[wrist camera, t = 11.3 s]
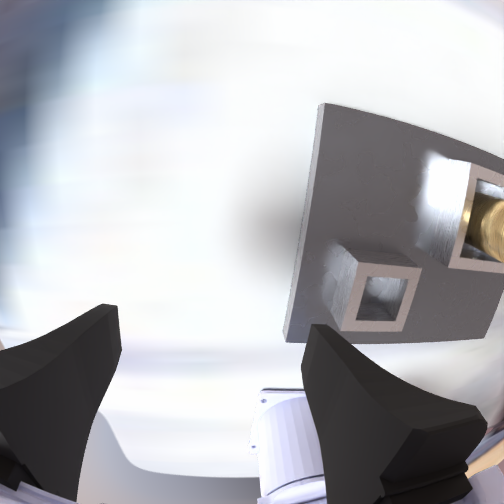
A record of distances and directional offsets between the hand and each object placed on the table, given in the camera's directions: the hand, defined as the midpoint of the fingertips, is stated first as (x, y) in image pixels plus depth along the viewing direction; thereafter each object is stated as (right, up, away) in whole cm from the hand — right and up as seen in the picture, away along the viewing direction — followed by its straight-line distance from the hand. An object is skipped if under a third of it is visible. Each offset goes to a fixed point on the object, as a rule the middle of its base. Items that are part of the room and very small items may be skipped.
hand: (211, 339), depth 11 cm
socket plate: (+15, +4, +10) cm, 18 cm away
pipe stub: (+18, +6, +8) cm, 21 cm away
